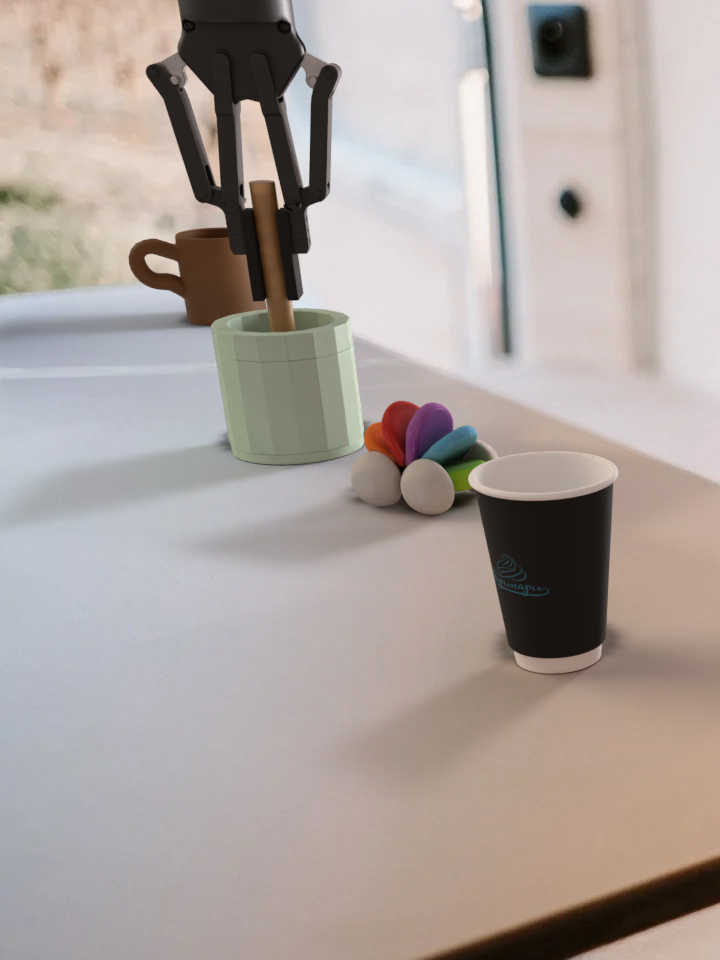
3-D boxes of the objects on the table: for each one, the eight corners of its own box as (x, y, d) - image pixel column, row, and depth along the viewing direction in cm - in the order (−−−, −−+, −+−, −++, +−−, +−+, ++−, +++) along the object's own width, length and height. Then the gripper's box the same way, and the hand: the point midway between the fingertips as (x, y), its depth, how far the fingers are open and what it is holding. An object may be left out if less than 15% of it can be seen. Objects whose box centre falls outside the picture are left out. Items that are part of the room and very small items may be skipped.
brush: (272, 400, 124) (240, 186, 117) (263, 389, 126) (231, 179, 120) (321, 394, 125) (292, 183, 119) (310, 384, 128) (282, 177, 122)
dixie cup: (474, 686, 88) (454, 494, 83) (500, 629, 95) (482, 450, 91) (621, 684, 88) (609, 494, 84) (636, 628, 96) (625, 450, 91)
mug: (144, 340, 159) (126, 243, 155) (138, 325, 165) (121, 231, 161) (273, 330, 164) (260, 236, 160) (263, 315, 170) (250, 225, 167)
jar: (221, 467, 122) (199, 337, 118) (243, 432, 131) (224, 309, 127) (357, 462, 124) (340, 333, 120) (370, 427, 133) (355, 306, 129)
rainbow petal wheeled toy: (413, 474, 122) (402, 380, 119) (521, 491, 119) (513, 395, 116) (336, 507, 114) (322, 407, 112) (449, 526, 111) (438, 424, 109)
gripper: (102, -39, 109) (162, 309, 118) (334, -34, 112) (375, 305, 121) (128, -40, 115) (184, 290, 125) (347, -36, 119) (385, 285, 128)
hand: (278, 296), depth 123 cm, fingers closed on brush, 2 cm apart
